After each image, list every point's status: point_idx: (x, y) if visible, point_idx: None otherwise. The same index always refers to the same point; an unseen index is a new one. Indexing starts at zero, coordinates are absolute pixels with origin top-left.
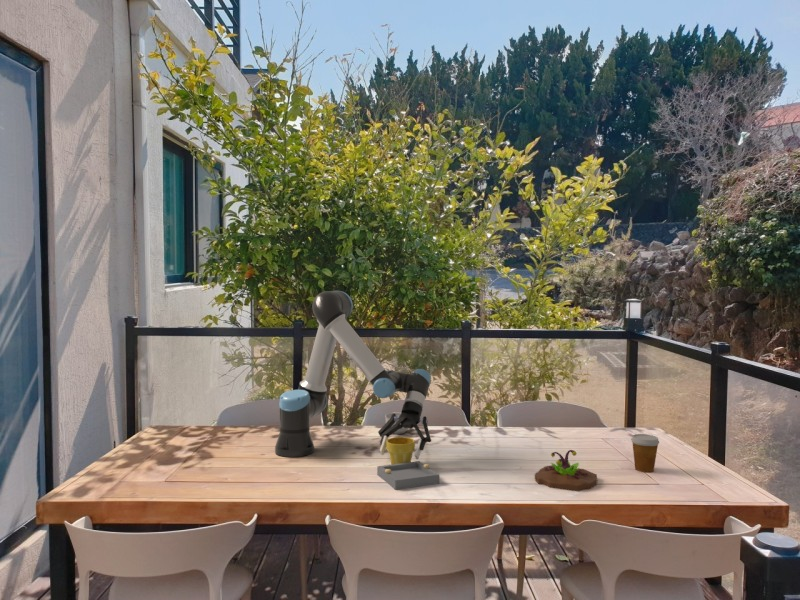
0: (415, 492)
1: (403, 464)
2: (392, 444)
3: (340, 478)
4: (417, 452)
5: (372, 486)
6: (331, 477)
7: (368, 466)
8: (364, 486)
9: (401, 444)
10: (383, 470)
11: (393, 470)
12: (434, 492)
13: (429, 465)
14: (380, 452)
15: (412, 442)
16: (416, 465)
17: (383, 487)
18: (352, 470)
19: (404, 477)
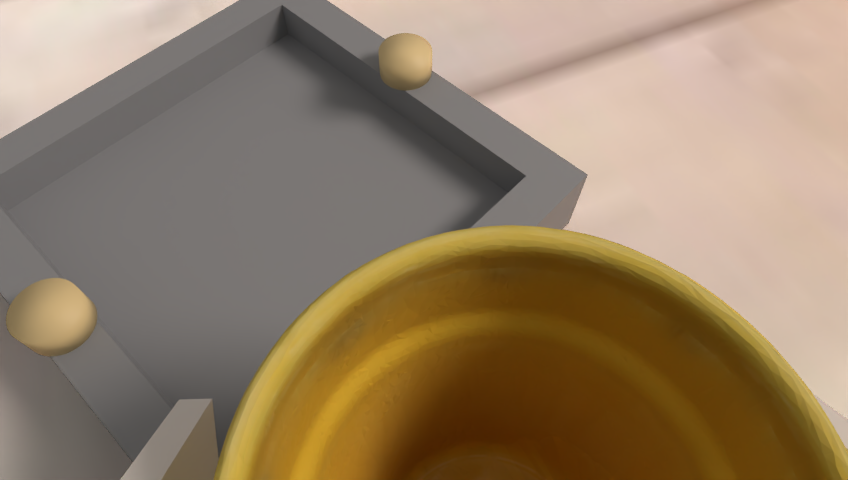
0: (151, 34)
1: None
2: (565, 232)
3: (756, 66)
4: (158, 430)
5: (465, 26)
6: (823, 61)
7: None
8: (513, 12)
9: (403, 252)
10: (470, 102)
11: None
12: (14, 71)
13: (8, 311)
14: None
15: (226, 457)
16: None
17: (388, 35)
18: (832, 237)
19: (272, 137)
